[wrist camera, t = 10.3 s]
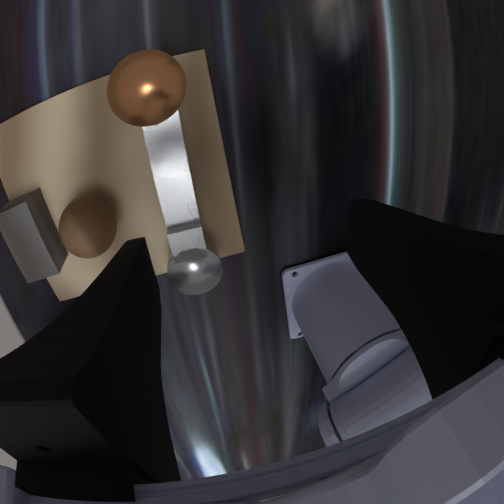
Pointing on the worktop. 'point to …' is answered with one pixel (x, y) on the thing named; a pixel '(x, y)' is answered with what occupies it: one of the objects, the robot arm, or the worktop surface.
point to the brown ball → (87, 227)
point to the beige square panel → (107, 179)
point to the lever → (166, 160)
